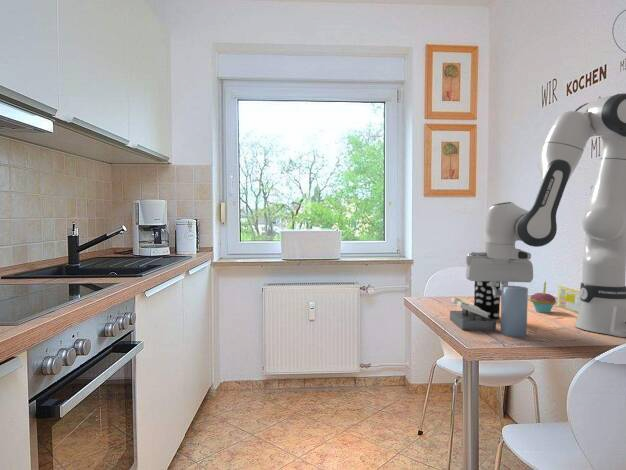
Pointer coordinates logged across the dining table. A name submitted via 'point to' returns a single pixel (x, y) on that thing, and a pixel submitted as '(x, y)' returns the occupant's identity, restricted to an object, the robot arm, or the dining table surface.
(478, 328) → the panel
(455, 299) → the paddle
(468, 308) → the paddle
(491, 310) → the white-spotted black cylinder
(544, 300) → the cupcake
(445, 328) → the dining table surface
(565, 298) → the candy box
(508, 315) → the blue cylinder
